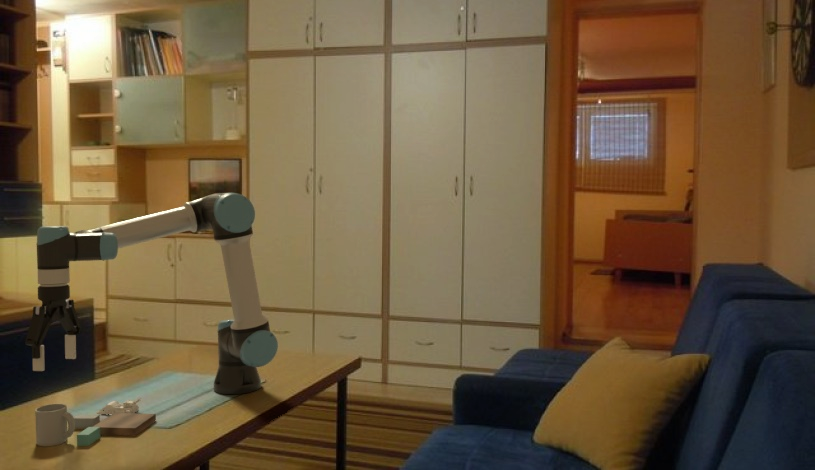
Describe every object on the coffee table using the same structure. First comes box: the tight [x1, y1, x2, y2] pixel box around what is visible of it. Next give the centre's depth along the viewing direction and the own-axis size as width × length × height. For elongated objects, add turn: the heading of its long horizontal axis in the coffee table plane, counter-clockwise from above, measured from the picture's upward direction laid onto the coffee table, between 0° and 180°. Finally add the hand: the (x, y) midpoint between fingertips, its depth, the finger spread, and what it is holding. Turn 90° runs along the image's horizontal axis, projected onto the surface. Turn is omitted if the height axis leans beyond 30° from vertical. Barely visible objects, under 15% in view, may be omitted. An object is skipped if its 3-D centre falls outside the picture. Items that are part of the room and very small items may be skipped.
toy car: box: [96, 397, 142, 414], centre depth 202 cm, size 6×12×4 cm, turn 87°
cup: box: [34, 403, 76, 447], centre depth 177 cm, size 7×10×9 cm
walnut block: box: [93, 412, 157, 437], centre depth 188 cm, size 12×12×2 cm
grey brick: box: [73, 414, 101, 430], centre depth 189 cm, size 6×3×3 cm, turn 89°
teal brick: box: [76, 427, 101, 447], centre depth 177 cm, size 6×3×3 cm, turn 177°
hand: (55, 364), depth 182 cm, fingers open, 13 cm apart
